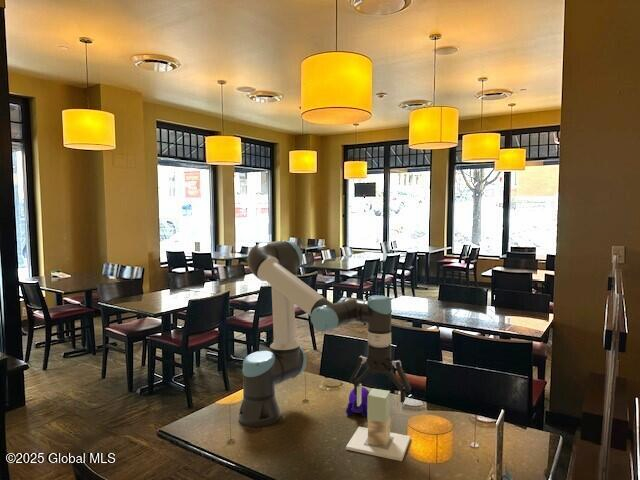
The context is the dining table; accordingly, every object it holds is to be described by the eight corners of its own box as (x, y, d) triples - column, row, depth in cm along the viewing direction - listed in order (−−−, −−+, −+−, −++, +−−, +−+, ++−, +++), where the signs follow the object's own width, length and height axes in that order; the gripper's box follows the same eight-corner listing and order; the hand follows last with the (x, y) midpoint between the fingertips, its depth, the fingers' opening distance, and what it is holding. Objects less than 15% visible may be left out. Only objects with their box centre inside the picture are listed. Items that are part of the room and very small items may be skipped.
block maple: (367, 443, 143) (367, 419, 142) (372, 434, 148) (372, 411, 148) (385, 447, 140) (386, 422, 140) (390, 438, 146) (390, 414, 145)
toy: (367, 425, 159) (372, 403, 174) (367, 401, 158) (372, 380, 172) (344, 423, 161) (350, 401, 176) (343, 398, 160) (350, 378, 174)
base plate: (346, 449, 142) (346, 445, 141) (358, 429, 154) (358, 425, 154) (401, 461, 135) (401, 457, 135) (410, 439, 148) (410, 435, 148)
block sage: (367, 419, 142) (367, 395, 142) (372, 411, 148) (372, 388, 147) (385, 422, 140) (385, 398, 139) (389, 414, 146) (390, 391, 145)
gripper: (339, 343, 143) (339, 406, 145) (416, 352, 134) (415, 419, 136) (346, 336, 150) (346, 397, 152) (420, 345, 141) (419, 409, 143)
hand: (379, 408), depth 144 cm, fingers open, 13 cm apart
